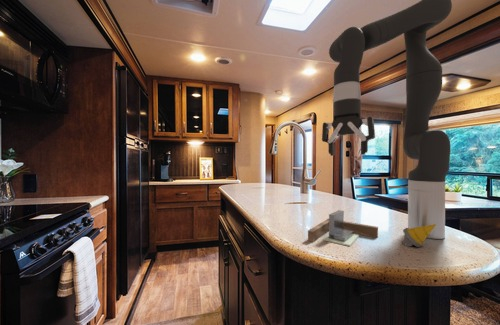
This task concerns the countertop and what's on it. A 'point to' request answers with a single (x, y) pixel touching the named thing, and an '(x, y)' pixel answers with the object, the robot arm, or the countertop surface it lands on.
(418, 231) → the yellow spiral cone
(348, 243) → the mat
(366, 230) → the corner walls
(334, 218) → the angle bracket
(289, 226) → the countertop surface
